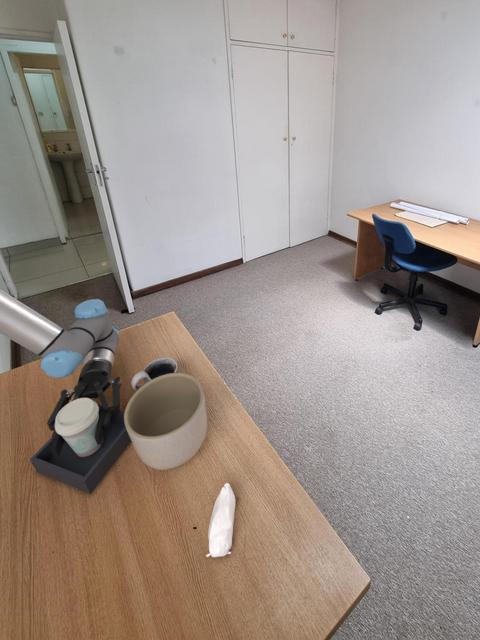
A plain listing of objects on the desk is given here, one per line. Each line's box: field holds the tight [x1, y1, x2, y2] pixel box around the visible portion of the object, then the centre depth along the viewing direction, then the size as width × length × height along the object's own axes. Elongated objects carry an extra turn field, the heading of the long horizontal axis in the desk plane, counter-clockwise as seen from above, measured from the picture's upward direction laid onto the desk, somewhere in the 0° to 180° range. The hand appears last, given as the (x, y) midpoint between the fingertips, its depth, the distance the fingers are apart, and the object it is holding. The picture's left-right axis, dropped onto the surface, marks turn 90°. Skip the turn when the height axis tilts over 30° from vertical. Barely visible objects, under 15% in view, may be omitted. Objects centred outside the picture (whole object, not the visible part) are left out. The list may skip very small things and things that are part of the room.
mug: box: [130, 357, 179, 392], centre depth 93 cm, size 10×12×10 cm
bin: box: [29, 403, 132, 495], centre depth 79 cm, size 16×16×5 cm
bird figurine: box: [205, 482, 237, 558], centre depth 65 cm, size 5×7×10 cm
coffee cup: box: [55, 398, 103, 457], centre depth 76 cm, size 8×8×12 cm
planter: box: [124, 372, 208, 471], centre depth 78 cm, size 17×17×15 cm
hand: (76, 446), depth 72 cm, fingers closed on coffee cup, 8 cm apart
